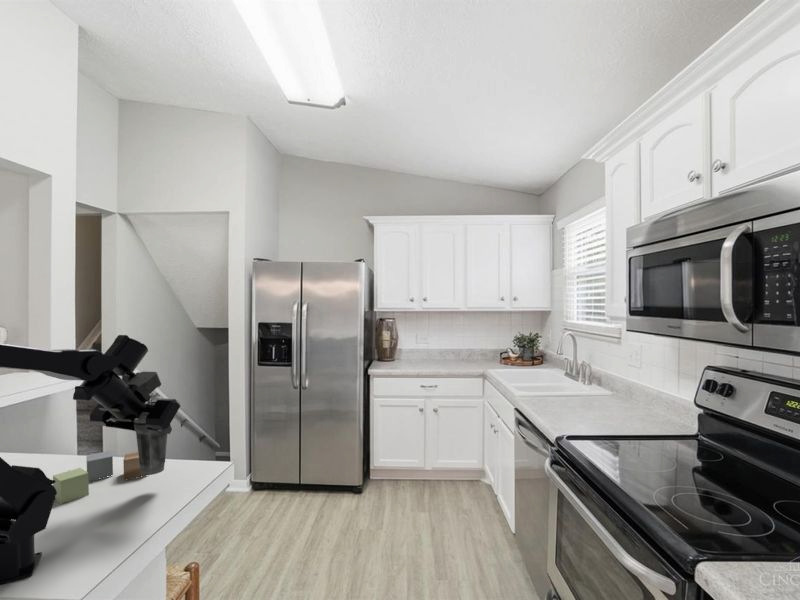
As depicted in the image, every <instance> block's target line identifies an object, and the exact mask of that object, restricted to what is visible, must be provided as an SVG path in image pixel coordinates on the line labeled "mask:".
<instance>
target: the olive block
mask: <svg viewBox="0 0 800 600" xmlns="http://www.w3.org/2000/svg"><path fill="white" fill-rule="evenodd" d="M52 480H55V481H56V482H55V483H53V484H52V485H53V486H54V487H55V489H56V491H57V495H56V496H55V501H57V502H58V503H59V502H60V503H62V504H65V503H67V501H68V502H71V501H74V500H77V499H80V498H83V497H85V496H89V495H90V491H89V490H90V489H89V488H90V486H89V484H90V482H89V479H88V472H87V470H85V469H84V468H82V467H79V468H75V469H70V470H67V471H64V472H60V473H57V474H54V475H53V474H52ZM73 499H74V500H73ZM70 500H71V501H70ZM64 502H65V503H64ZM60 503H59V504H60Z"/></svg>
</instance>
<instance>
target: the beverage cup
mask: <svg viewBox="0 0 800 600" xmlns="http://www.w3.org/2000/svg"><path fill="white" fill-rule="evenodd" d="M150 394H151V393H150ZM150 394H149V395H150ZM150 396H151V395H150ZM155 403H156V401H151V399H150V400H149V401H148V402H146V403H145V404H153V405H154V404H155ZM146 417H147V416H140V417H139V418H138V419H135V420H134V422H133V424H134V428H135V431H134V432H135V435H136V444H137V451H138V454H139V463H140V469H141V474H142V475H148V476H153V475H157V474H160V473H162V472H163V471H164V470H165V463H166V456H167V455H166V454H167V441H168V434H166V433H161V432H157V431H152V430H148V429H147V428H148V426H147V425H146Z"/></svg>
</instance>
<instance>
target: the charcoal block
mask: <svg viewBox="0 0 800 600" xmlns="http://www.w3.org/2000/svg"><path fill="white" fill-rule="evenodd" d="M113 462H114V459H113V453H112V450H107V451H102V452H97V453H92V454H88V455H86V472H88V479H89V481H90V482H93V480H94V481H97V480H96V479H98V480H100V479H99V478H103V477H107V476H111V475H113V476H114V468H113V467H114V466H113V465H114V463H113ZM111 477H112V476H111ZM107 478H108V477H107ZM103 479H104V478H103Z"/></svg>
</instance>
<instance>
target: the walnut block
mask: <svg viewBox="0 0 800 600" xmlns="http://www.w3.org/2000/svg"><path fill="white" fill-rule="evenodd" d="M122 461H123V481H127V480H126V479H129V480H132V479H131V478H134V479H137V478H136V477H139V478H142V477H141V476H145V477H147V476H146V475H142V474H141V469H140V463H139V454H138V450H137V451H133V452H126V453H125V454H124V457H123V460H122Z"/></svg>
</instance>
